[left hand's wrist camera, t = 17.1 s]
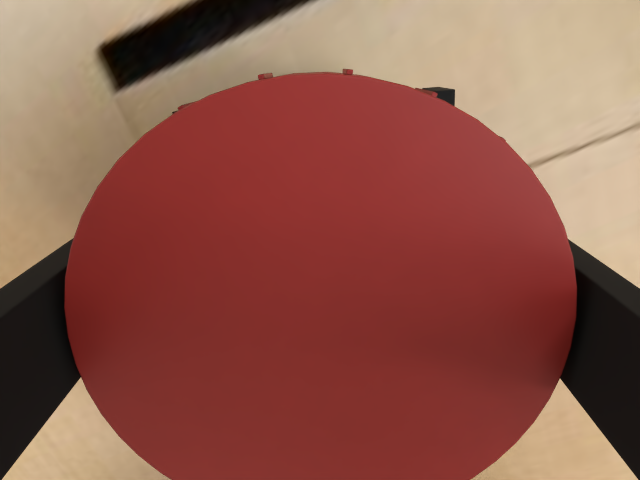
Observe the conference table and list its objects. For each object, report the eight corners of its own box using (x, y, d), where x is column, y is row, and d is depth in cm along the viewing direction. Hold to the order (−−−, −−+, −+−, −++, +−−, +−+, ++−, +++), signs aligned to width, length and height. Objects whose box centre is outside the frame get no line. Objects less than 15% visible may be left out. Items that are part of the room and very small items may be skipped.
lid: (577, 74, 10) (645, 76, 8) (496, 457, 14) (528, 527, 12) (76, 62, 10) (9, 61, 8) (136, 451, 14) (103, 520, 12)
